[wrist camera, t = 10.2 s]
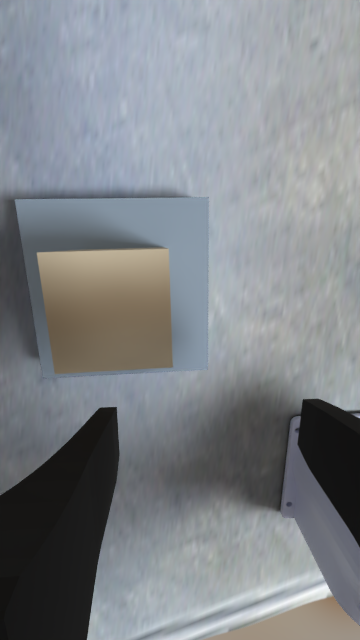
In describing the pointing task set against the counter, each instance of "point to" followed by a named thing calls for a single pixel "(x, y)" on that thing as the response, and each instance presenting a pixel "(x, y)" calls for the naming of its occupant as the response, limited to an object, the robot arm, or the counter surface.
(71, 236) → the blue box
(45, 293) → the birch block
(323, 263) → the counter surface
